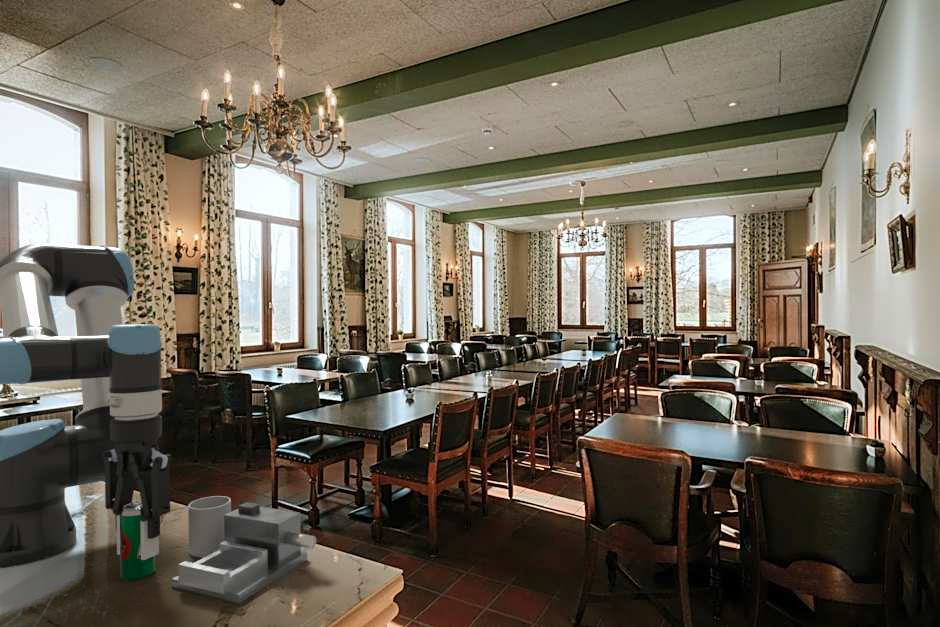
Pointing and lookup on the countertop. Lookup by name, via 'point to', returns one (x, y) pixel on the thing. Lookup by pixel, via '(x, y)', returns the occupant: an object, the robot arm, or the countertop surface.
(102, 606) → the countertop surface
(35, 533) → the robot arm
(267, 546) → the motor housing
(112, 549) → the countertop surface
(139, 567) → the soda can
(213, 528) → the cup
